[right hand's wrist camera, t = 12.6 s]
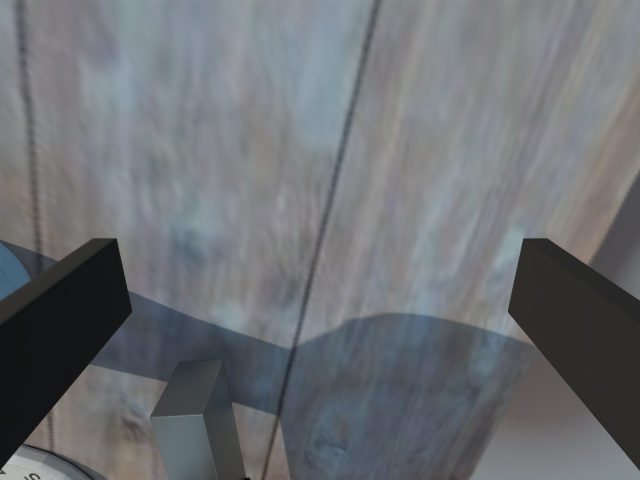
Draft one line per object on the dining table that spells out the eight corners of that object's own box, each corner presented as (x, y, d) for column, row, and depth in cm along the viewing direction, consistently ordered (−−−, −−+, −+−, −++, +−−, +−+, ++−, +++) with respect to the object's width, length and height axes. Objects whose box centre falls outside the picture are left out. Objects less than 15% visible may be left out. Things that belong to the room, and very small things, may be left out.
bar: (179, 361, 47) (149, 417, 39) (223, 359, 47) (202, 415, 39) (213, 499, 57) (194, 568, 48) (250, 498, 56) (238, 567, 48)
